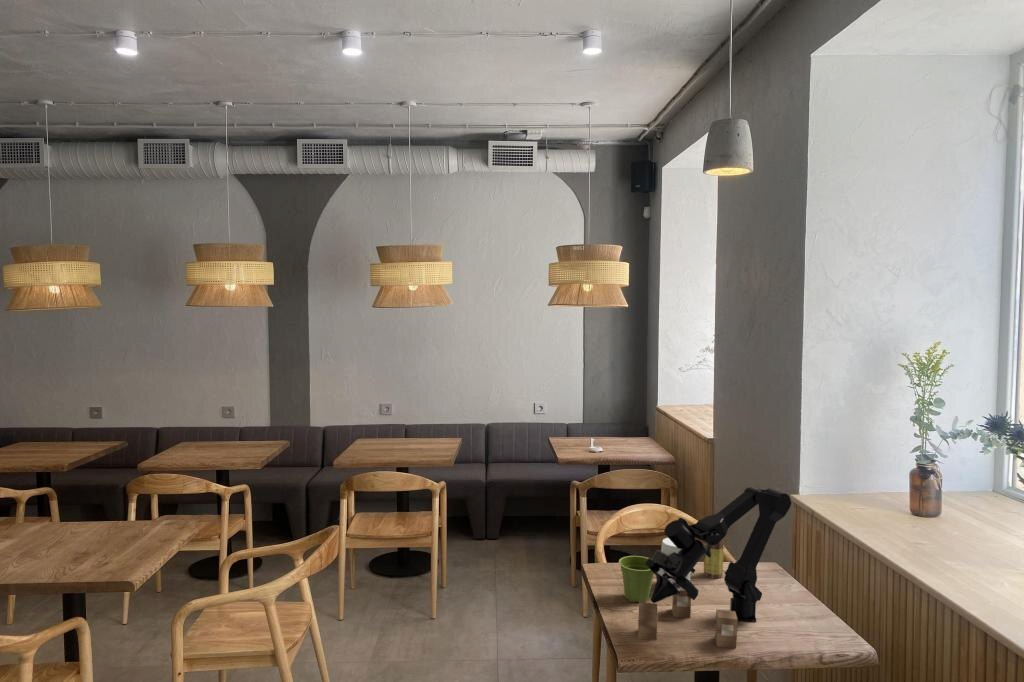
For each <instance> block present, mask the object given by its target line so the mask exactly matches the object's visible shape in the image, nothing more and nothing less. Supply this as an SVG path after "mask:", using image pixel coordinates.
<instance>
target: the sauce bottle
mask: <svg viewBox="0 0 1024 682" xmlns="http://www.w3.org/2000/svg"><path fill="white" fill-rule="evenodd" d="M703 542H704V541H703ZM703 545H706V546H708V547H710V553H711V557H707V556H706V555H703V573H704V576H705V577H708V578H711V579H720V578H723V572H724V548H725V547H724V538H723V539H722V540H721V541H720V542H719V543H718V544H717V545H710V544H708V543H706V542H704V543H703Z"/></svg>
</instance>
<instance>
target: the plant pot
mask: <svg viewBox="0 0 1024 682" xmlns="http://www.w3.org/2000/svg"><path fill="white" fill-rule="evenodd" d="M648 559H649V557H646V556H639V555H628V556H623V557H620V559H619V560H618V564H619V566H620V570H621V574H622V582H623V590H624V597H625V598H626V600H628V601H631V602H633V603H634V602H638V603H639V602H643V603H646V602H648V600H649V599H650V593H651V589H652V585H653V584H652V583H653V579H654V576H655V574H654V573H653V572H652V571H651V570H650V569H649V568H648V567H647V565H646V564H645V563H646V561H647V560H648Z"/></svg>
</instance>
